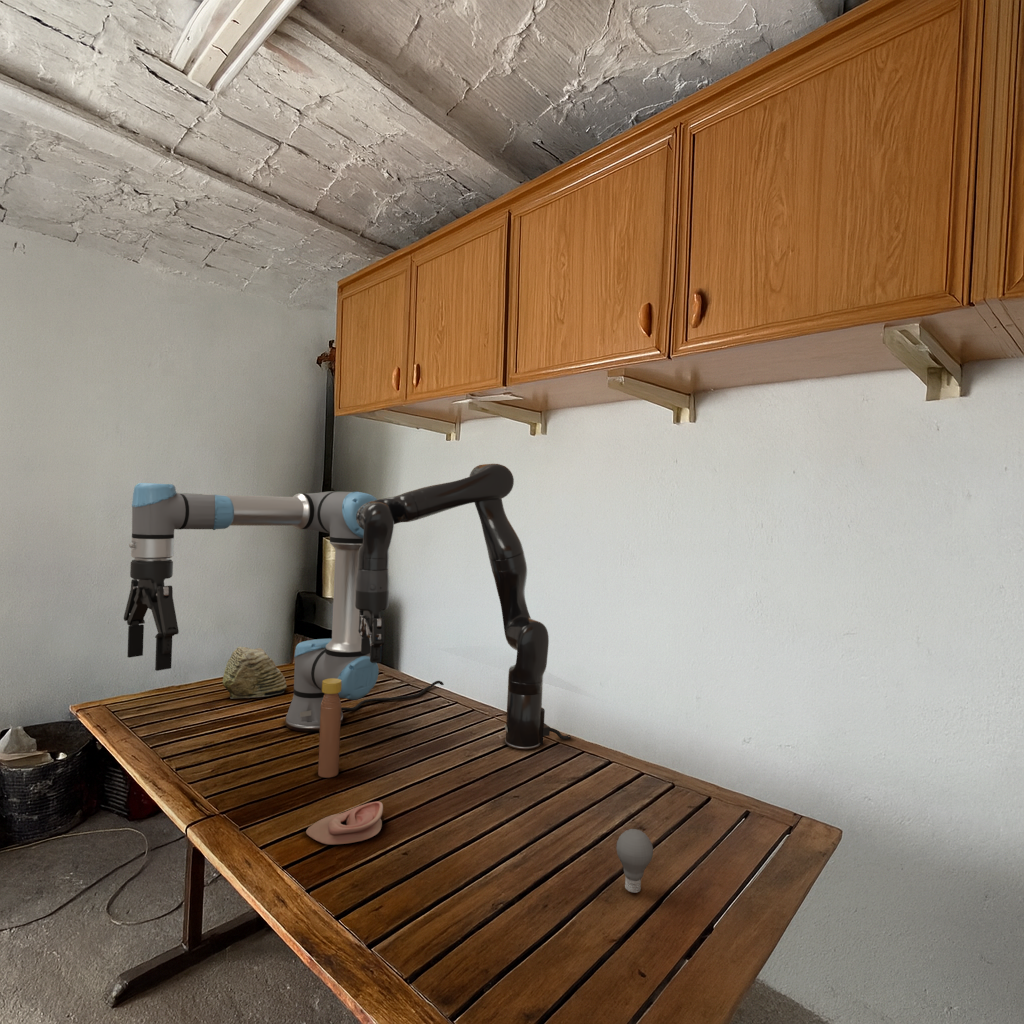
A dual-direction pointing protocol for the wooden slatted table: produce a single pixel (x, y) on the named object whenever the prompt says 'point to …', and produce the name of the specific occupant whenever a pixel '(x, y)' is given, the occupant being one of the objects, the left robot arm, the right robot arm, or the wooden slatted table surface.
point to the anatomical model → (348, 825)
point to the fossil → (252, 674)
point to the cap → (331, 686)
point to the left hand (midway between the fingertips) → (148, 662)
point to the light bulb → (634, 857)
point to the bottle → (329, 736)
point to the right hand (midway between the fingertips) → (370, 657)
